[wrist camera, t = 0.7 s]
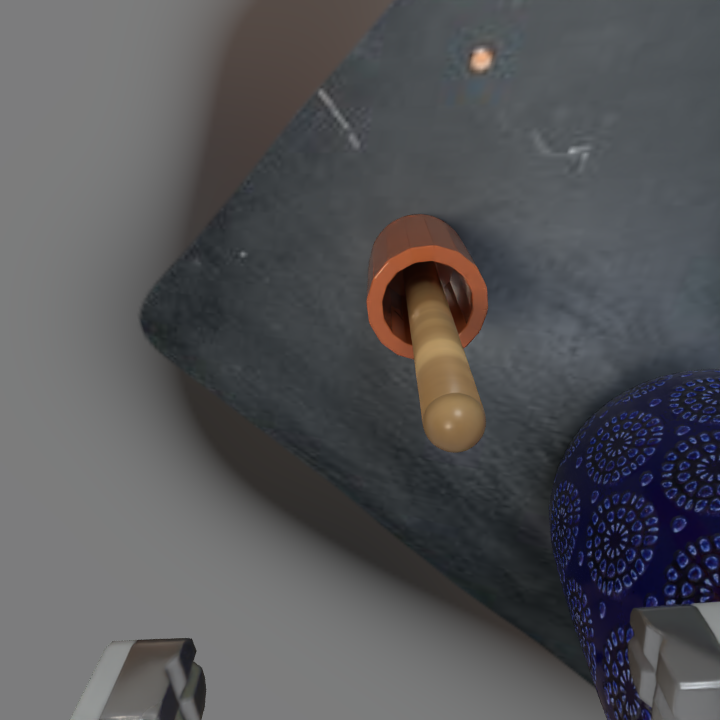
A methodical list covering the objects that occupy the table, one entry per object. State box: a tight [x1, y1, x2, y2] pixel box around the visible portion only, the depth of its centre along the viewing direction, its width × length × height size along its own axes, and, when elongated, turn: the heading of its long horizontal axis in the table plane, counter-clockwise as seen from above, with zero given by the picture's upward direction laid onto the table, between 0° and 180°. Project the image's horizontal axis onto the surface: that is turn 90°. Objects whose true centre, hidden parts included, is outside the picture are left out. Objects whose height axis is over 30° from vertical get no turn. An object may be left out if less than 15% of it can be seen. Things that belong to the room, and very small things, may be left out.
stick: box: [402, 261, 486, 452], centre depth 25 cm, size 2×2×19 cm
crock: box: [367, 214, 488, 359], centre depth 30 cm, size 5×5×8 cm
